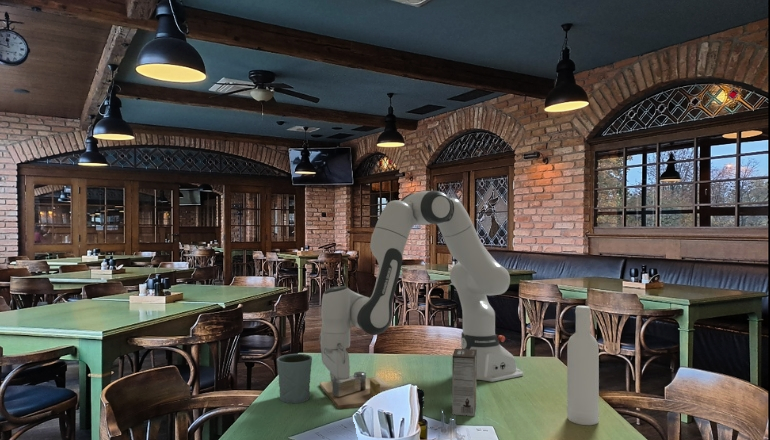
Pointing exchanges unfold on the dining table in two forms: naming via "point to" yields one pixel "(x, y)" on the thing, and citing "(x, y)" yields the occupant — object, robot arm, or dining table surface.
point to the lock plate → (356, 393)
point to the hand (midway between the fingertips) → (335, 386)
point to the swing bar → (349, 384)
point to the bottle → (583, 372)
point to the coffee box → (464, 382)
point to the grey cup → (294, 377)
